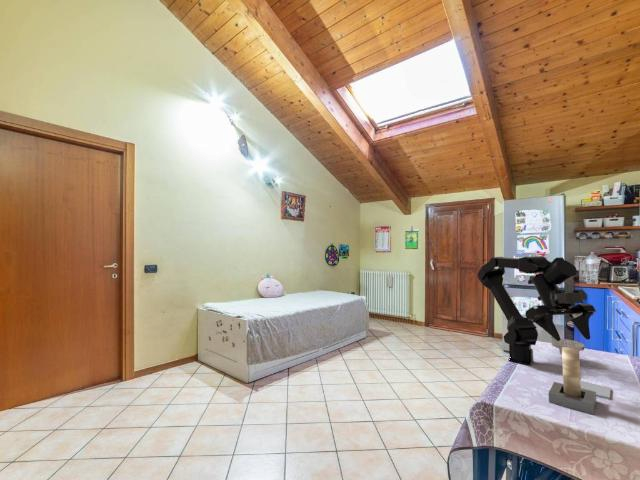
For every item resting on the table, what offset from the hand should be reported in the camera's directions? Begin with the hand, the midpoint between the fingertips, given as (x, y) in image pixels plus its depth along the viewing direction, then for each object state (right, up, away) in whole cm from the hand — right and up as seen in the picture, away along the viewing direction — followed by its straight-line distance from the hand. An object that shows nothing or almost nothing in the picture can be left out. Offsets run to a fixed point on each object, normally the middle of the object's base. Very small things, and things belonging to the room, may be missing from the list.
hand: (573, 339), depth 88 cm
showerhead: (+16, -15, +22) cm, 31 cm away
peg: (-6, -14, -7) cm, 17 cm away
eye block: (-6, -14, -7) cm, 17 cm away
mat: (+4, -14, -1) cm, 15 cm away
